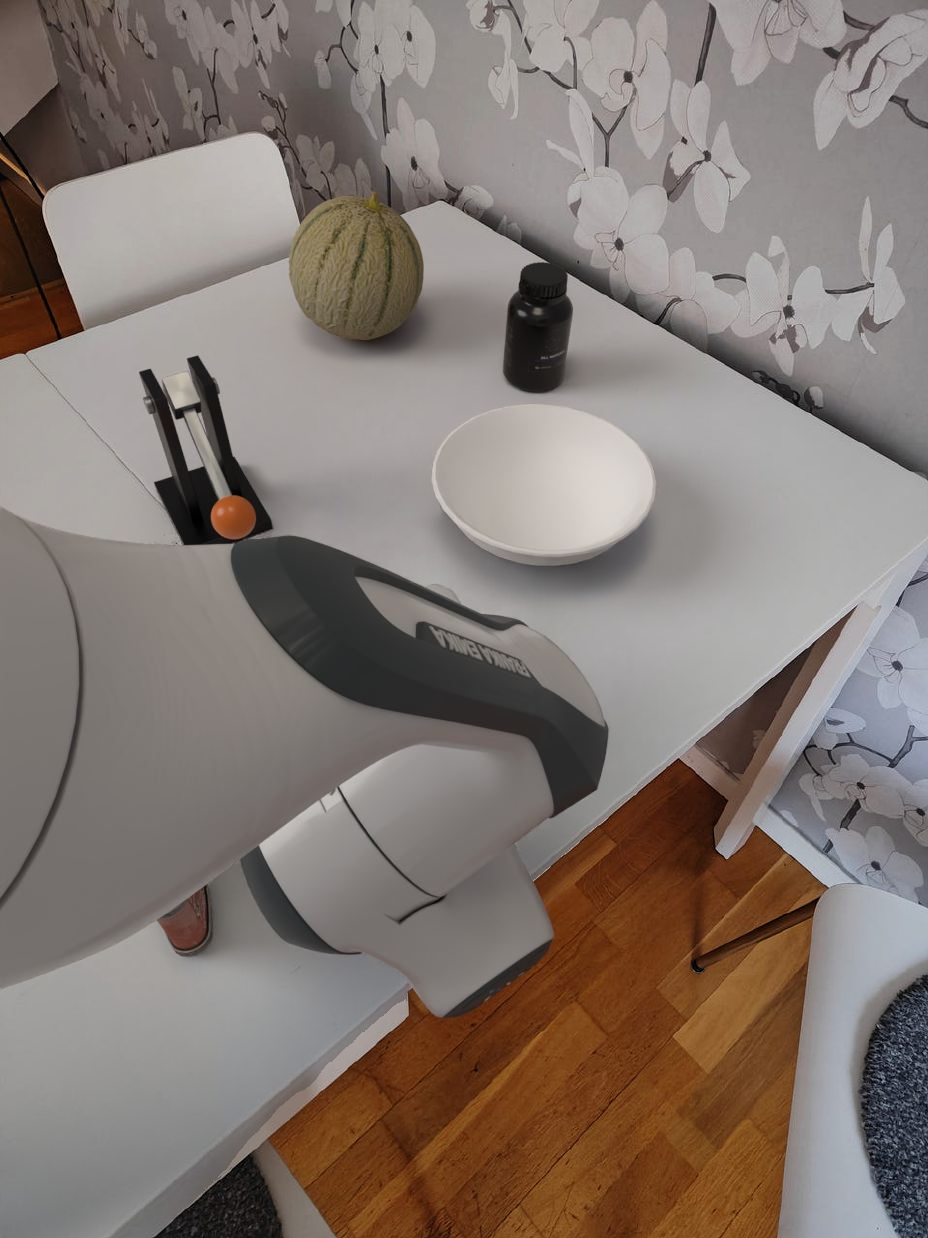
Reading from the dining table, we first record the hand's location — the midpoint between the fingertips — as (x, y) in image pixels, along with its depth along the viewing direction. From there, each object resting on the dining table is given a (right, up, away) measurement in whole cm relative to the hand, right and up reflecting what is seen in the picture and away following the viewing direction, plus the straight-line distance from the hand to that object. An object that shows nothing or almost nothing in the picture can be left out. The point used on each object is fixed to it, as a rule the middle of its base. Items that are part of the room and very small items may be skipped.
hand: (287, 599), depth 61 cm
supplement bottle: (+20, +25, +35) cm, 48 cm away
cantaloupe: (0, +32, +40) cm, 52 cm away
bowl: (+19, +7, +21) cm, 29 cm away
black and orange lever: (-11, +9, +21) cm, 25 cm away
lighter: (-6, -20, -2) cm, 21 cm away
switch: (-9, +12, +12) cm, 19 cm away
